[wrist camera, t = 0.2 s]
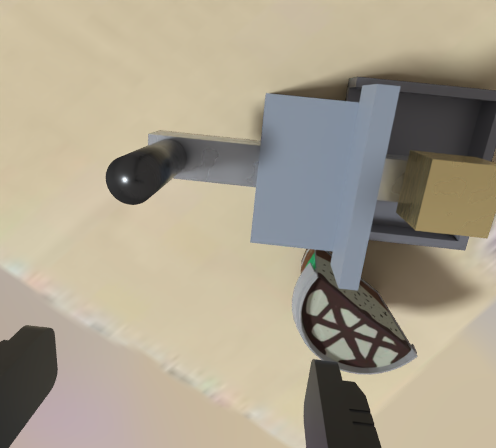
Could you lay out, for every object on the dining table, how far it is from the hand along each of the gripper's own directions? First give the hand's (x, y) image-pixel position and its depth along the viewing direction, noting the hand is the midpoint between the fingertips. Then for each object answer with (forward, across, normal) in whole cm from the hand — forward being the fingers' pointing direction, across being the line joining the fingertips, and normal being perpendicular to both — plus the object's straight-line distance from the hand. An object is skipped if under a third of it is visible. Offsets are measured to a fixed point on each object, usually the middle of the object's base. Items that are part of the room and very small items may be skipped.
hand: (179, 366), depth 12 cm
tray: (+28, -15, -3) cm, 32 cm away
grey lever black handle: (+21, -6, -3) cm, 22 cm away
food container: (+28, -10, +11) cm, 32 cm away
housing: (+28, -5, -3) cm, 29 cm away
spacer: (+18, -14, -3) cm, 23 cm away
